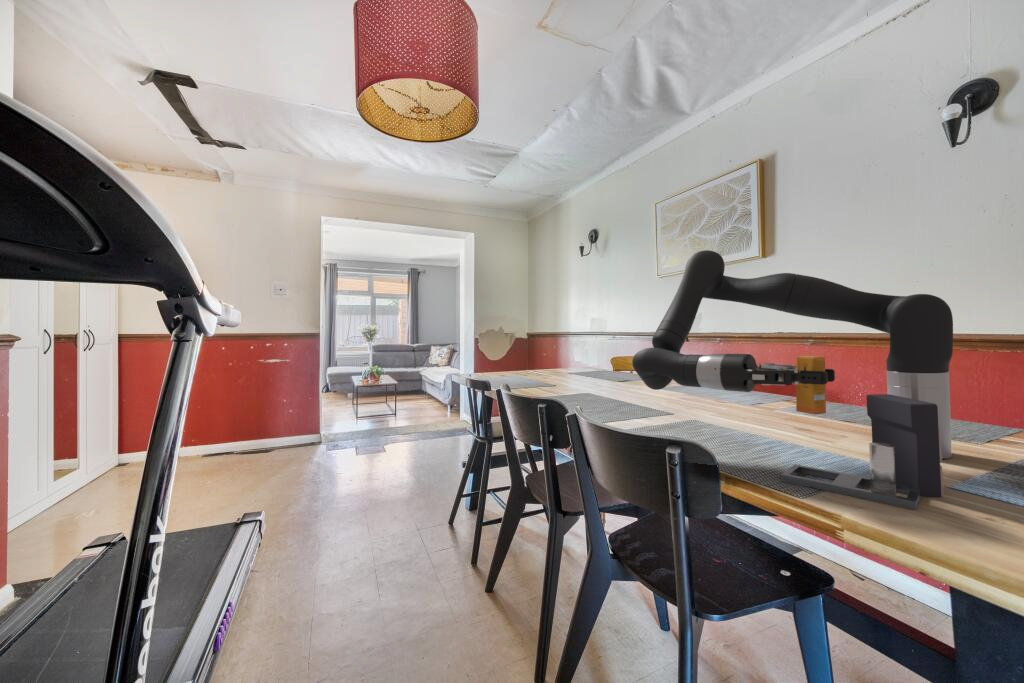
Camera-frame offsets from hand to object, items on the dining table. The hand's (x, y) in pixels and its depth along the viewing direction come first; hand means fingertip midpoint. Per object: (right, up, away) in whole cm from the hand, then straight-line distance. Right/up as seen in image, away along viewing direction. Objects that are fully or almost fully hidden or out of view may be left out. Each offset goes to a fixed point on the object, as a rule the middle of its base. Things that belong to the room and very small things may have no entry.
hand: (830, 376), depth 69 cm
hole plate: (+2, -19, -1) cm, 19 cm away
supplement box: (-2, -7, +2) cm, 7 cm away
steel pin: (+5, -19, -5) cm, 20 cm away
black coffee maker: (+12, -19, -1) cm, 22 cm away
